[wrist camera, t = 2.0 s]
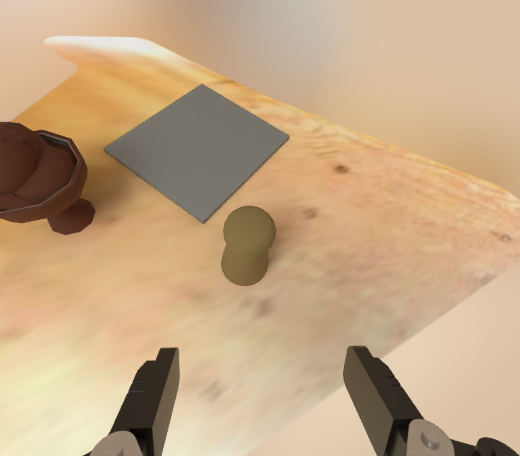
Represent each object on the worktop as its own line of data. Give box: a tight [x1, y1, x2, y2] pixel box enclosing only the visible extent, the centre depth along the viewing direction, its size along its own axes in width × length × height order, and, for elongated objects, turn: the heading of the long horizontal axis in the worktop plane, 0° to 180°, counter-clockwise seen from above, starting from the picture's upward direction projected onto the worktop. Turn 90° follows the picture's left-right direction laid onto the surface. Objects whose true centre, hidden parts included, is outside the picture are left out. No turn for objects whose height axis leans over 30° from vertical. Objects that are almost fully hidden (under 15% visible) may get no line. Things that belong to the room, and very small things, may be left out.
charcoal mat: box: [103, 84, 289, 224], centre depth 43 cm, size 22×20×1 cm
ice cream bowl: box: [0, 122, 95, 235], centre depth 28 cm, size 11×11×15 cm
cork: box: [221, 206, 276, 286], centre depth 29 cm, size 6×6×11 cm
